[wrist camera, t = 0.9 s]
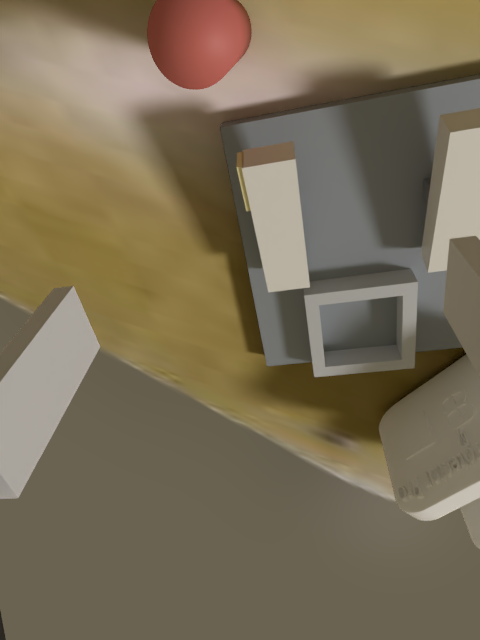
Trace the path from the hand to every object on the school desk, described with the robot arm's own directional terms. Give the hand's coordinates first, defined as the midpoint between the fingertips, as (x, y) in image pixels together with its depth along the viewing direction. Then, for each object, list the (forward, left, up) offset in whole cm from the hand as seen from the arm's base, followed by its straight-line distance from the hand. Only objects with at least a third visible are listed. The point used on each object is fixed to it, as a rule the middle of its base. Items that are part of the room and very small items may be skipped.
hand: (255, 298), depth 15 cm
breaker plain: (+3, +11, -15) cm, 19 cm away
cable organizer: (+24, +15, -19) cm, 34 cm away
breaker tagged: (+3, 0, -15) cm, 16 cm away
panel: (+7, +6, -19) cm, 21 cm away
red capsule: (-8, -2, -19) cm, 20 cm away
